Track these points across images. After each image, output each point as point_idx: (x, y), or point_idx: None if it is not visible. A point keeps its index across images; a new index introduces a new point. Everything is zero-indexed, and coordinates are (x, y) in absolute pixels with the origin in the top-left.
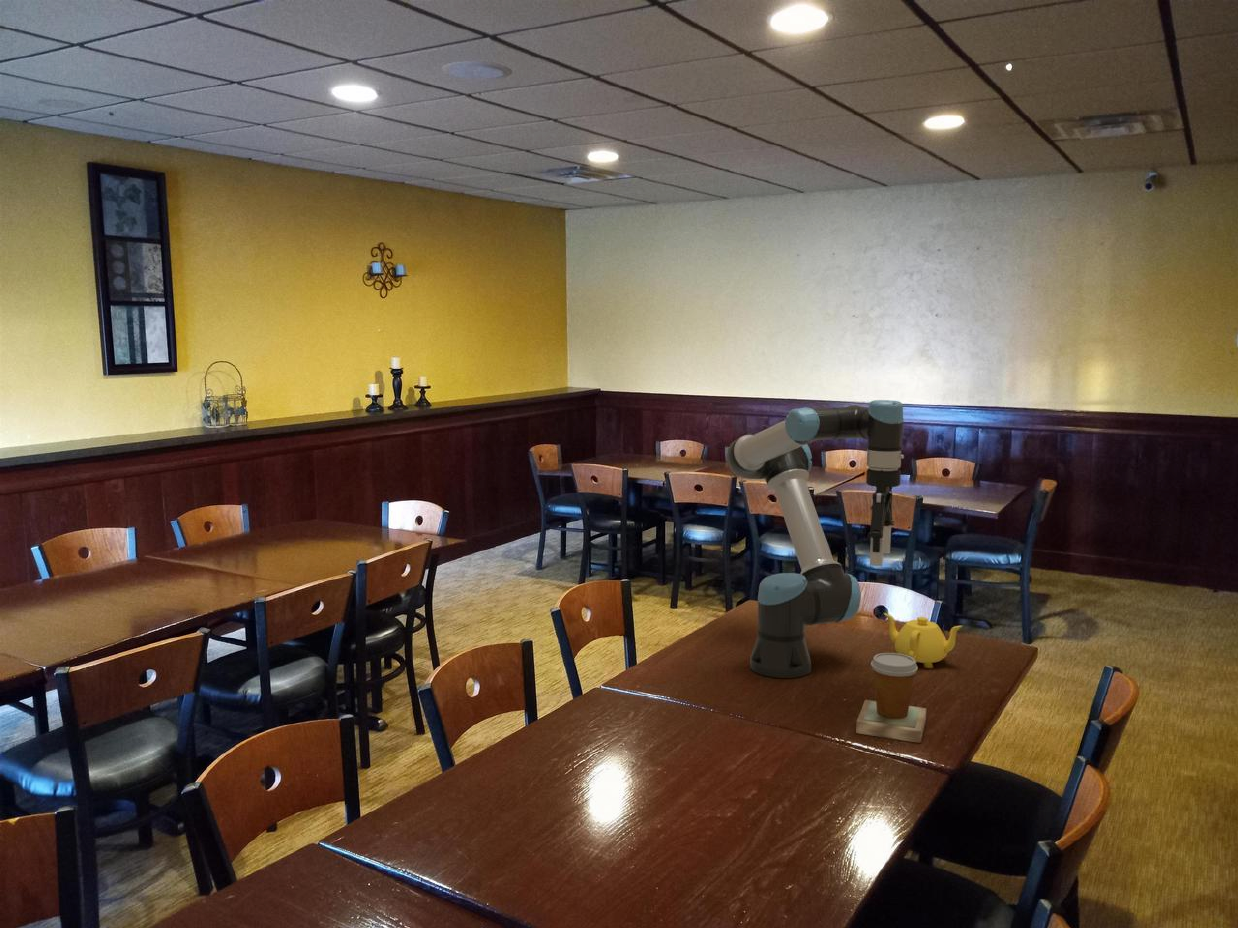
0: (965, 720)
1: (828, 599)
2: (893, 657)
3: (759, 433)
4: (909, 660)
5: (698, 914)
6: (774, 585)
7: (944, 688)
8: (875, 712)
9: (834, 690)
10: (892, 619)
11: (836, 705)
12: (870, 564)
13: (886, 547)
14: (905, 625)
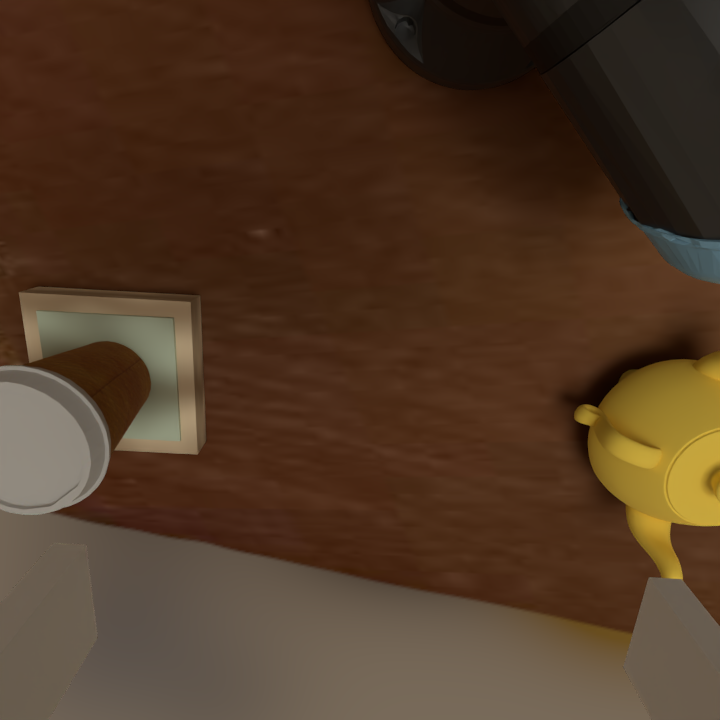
0: (239, 519)
1: (603, 108)
2: (58, 443)
3: None
4: (53, 493)
5: None
6: None
7: (437, 478)
8: (97, 337)
9: (321, 194)
10: None
11: (203, 214)
12: (49, 555)
13: (662, 697)
14: (717, 422)
